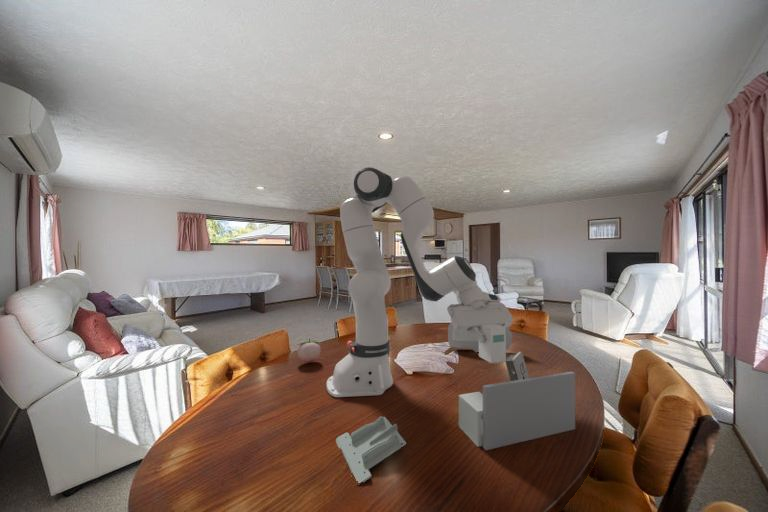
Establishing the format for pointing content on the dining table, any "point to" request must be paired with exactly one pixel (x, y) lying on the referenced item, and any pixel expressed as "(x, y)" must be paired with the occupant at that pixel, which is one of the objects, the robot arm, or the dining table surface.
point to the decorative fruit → (309, 350)
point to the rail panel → (527, 409)
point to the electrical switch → (517, 367)
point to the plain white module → (493, 343)
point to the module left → (471, 416)
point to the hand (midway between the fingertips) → (493, 340)
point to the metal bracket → (369, 446)
